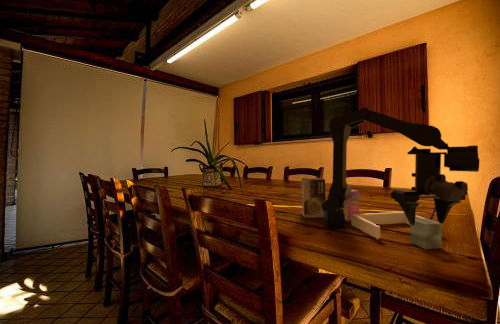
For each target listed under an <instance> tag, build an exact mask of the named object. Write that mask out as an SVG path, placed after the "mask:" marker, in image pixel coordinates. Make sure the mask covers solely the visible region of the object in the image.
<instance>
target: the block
mask: <svg viewBox="0 0 500 324" xmlns="http://www.w3.org/2000/svg"><path fill="white" fill-rule="evenodd" d="M424 218H425V219H415V224H414V225H410V240H409V241H410V243H411V244H413V245H415V246H418V247H419V248H421V249H424V250H431V249H432V250H433V248H434V249H442V234H443V233H442V232H443V227H442V226H443V224H441V223H438V221H436V220H433V221H432V219H429V218H426V217H424ZM435 221H436V222H435Z"/></svg>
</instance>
